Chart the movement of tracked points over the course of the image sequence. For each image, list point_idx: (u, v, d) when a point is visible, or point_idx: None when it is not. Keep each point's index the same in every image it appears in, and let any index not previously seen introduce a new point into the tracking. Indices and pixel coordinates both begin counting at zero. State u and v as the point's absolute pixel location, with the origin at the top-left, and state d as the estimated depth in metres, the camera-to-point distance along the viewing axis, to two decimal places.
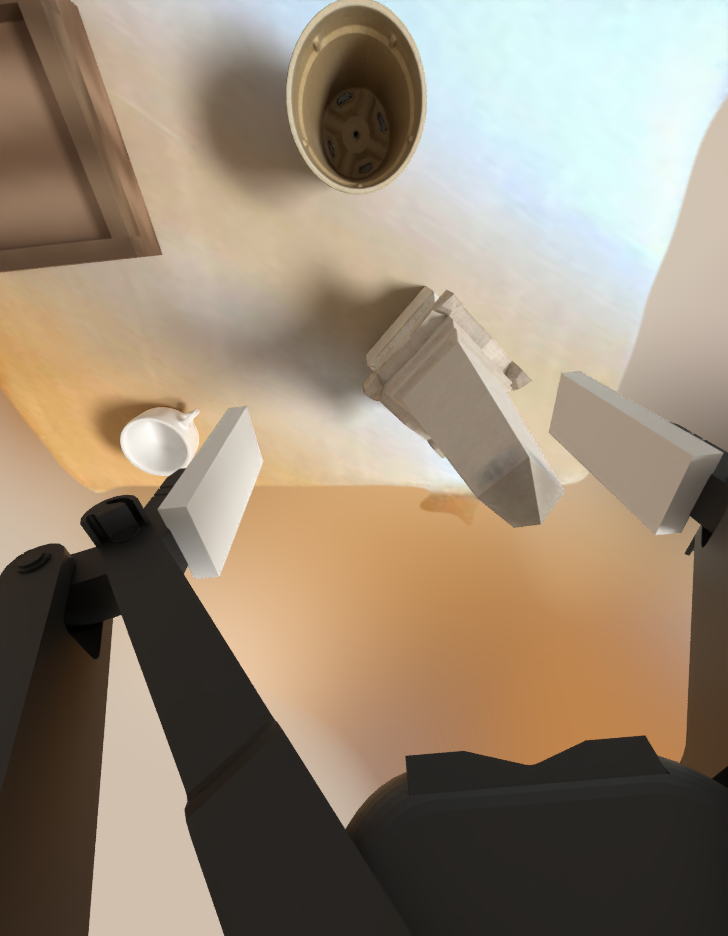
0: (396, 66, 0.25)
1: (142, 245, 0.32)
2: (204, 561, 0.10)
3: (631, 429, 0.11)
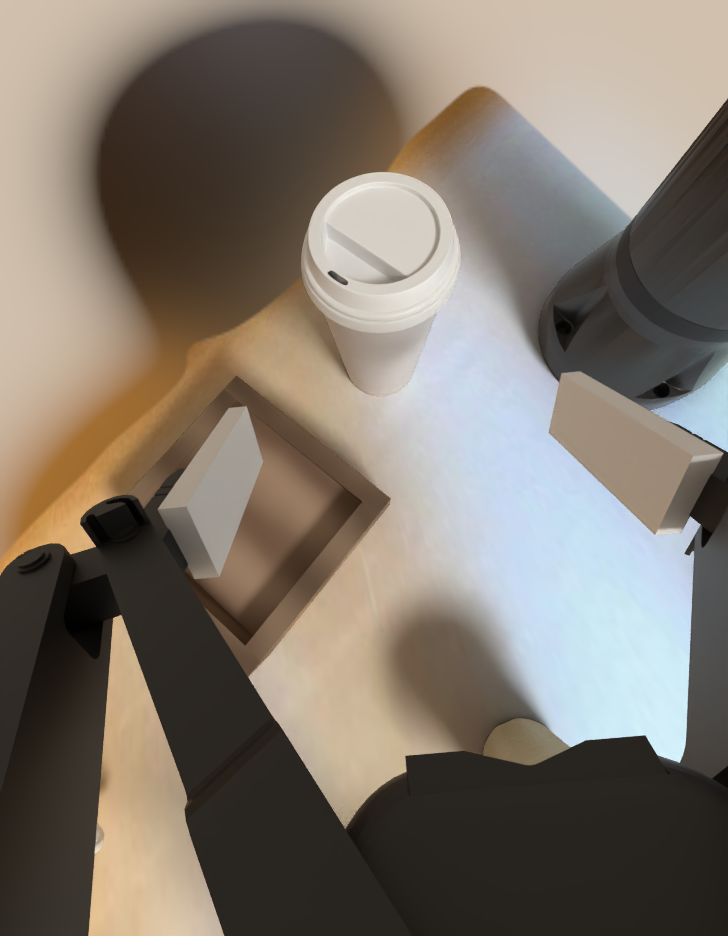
0: None
1: (262, 660, 0.26)
2: (204, 561, 0.10)
3: (631, 429, 0.11)
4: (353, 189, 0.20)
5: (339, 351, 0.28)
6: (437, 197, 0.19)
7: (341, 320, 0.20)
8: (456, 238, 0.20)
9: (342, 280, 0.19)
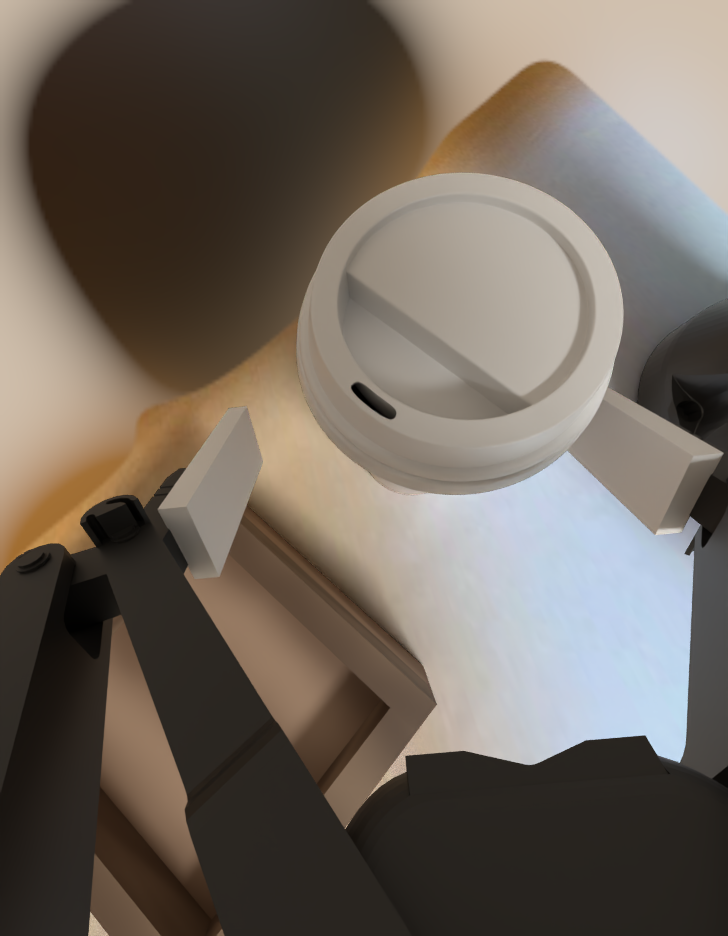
0: None
1: None
2: (204, 561, 0.10)
3: (631, 429, 0.11)
4: (405, 206, 0.10)
5: None
6: (583, 228, 0.09)
7: (374, 469, 0.10)
8: None
9: (382, 402, 0.09)
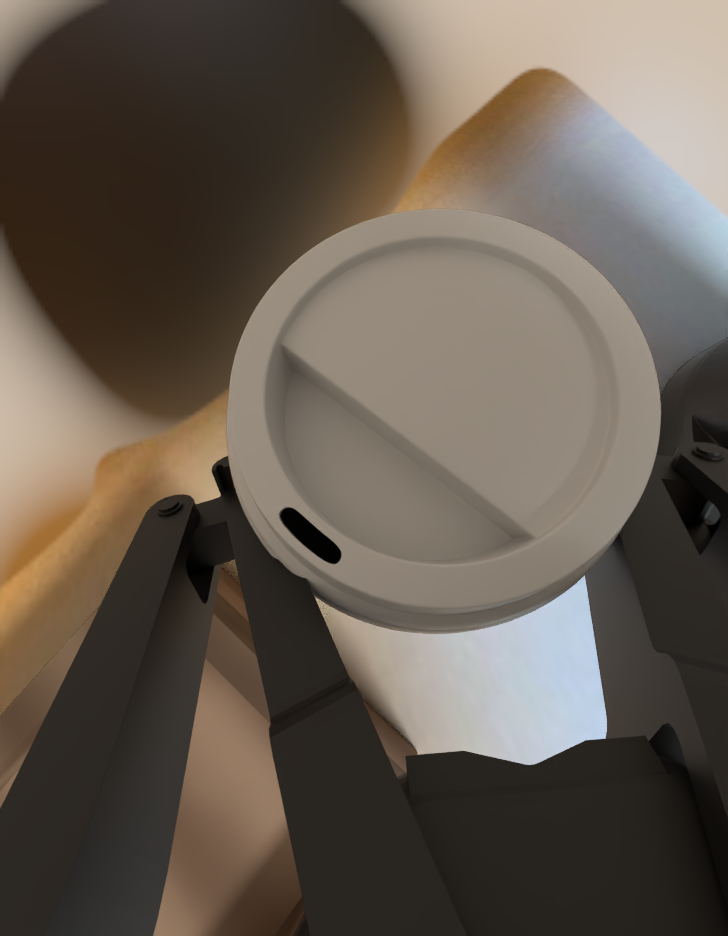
0: None
1: None
2: None
3: None
4: (360, 256, 0.07)
5: None
6: (600, 282, 0.07)
7: (325, 602, 0.08)
8: None
9: (326, 529, 0.06)
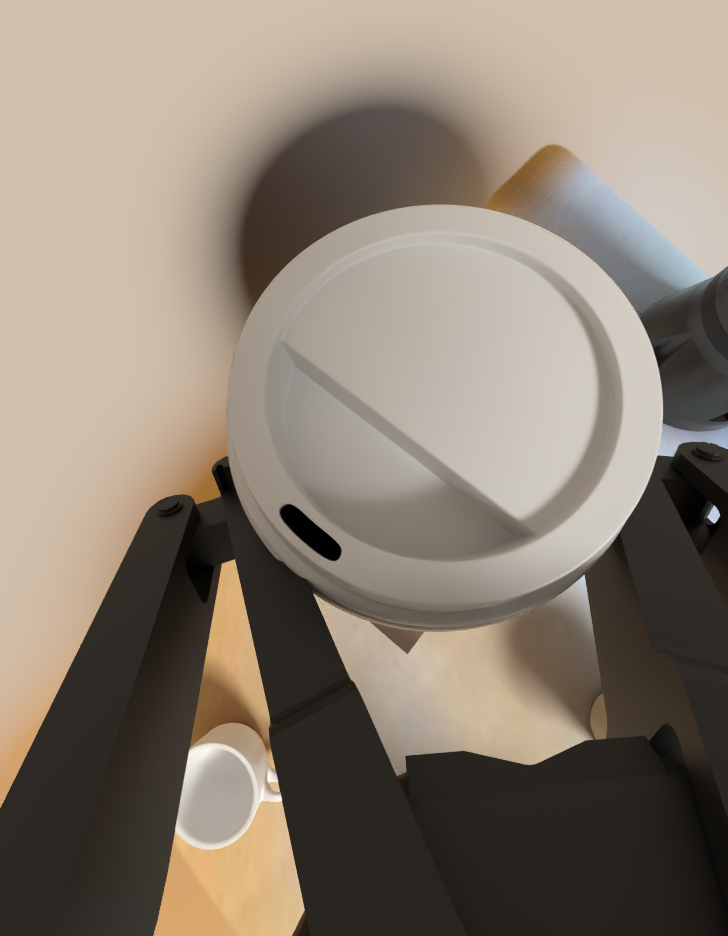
0: None
1: None
2: None
3: None
4: (360, 253, 0.07)
5: None
6: (601, 278, 0.07)
7: (325, 599, 0.07)
8: None
9: (327, 527, 0.06)
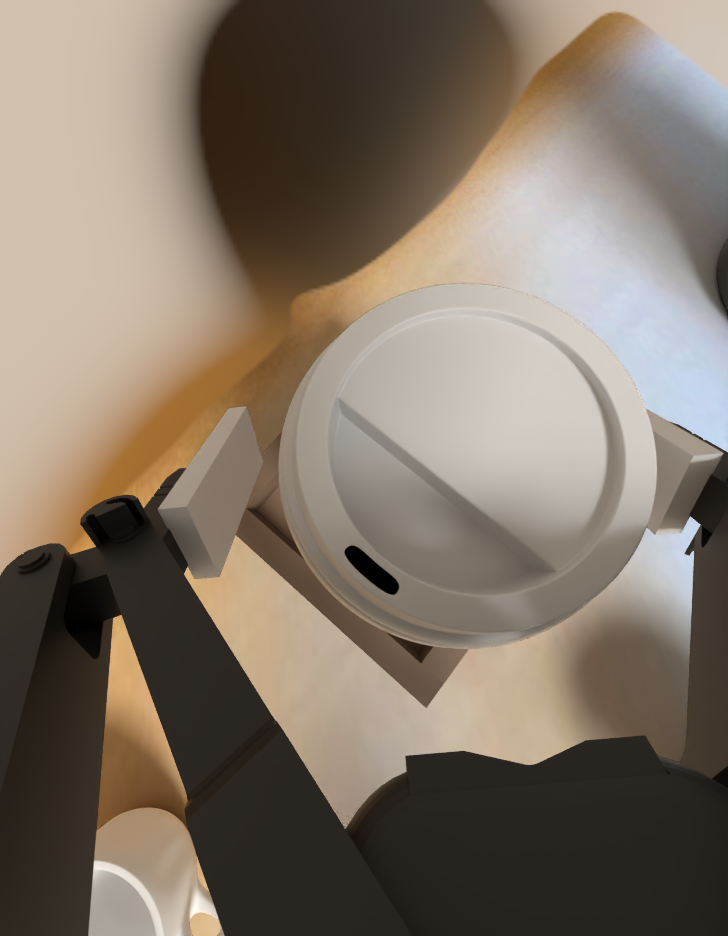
0: None
1: None
2: (204, 561, 0.10)
3: None
4: (406, 322, 0.08)
5: None
6: (608, 356, 0.08)
7: (370, 622, 0.09)
8: None
9: (382, 564, 0.08)
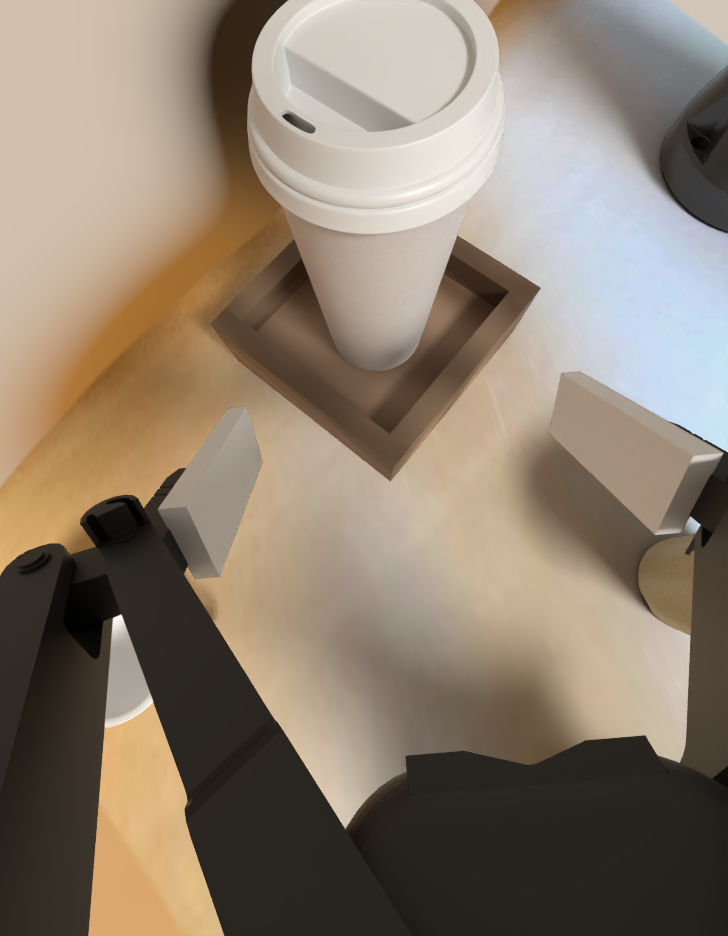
0: None
1: (400, 463, 0.23)
2: (204, 561, 0.10)
3: (631, 429, 0.11)
4: None
5: (318, 299, 0.20)
6: (471, 3, 0.12)
7: (307, 211, 0.12)
8: (500, 81, 0.12)
9: (308, 132, 0.11)
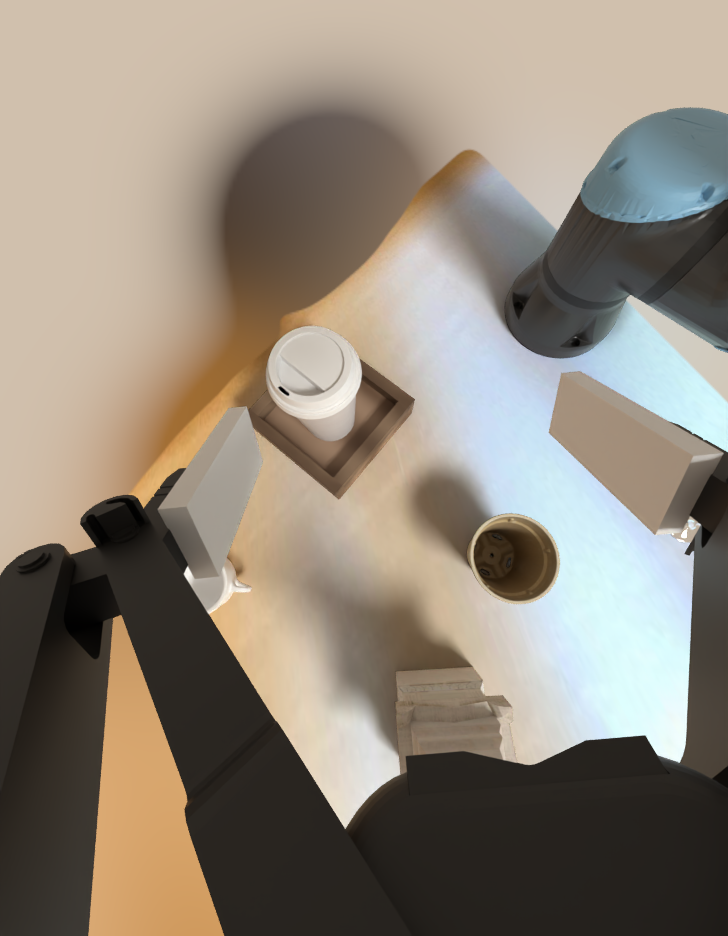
0: (540, 557, 0.40)
1: (340, 491, 0.45)
2: (204, 561, 0.10)
3: (631, 429, 0.11)
4: (296, 335, 0.34)
5: None
6: (344, 343, 0.33)
7: (287, 411, 0.34)
8: (356, 365, 0.34)
9: (287, 391, 0.33)
